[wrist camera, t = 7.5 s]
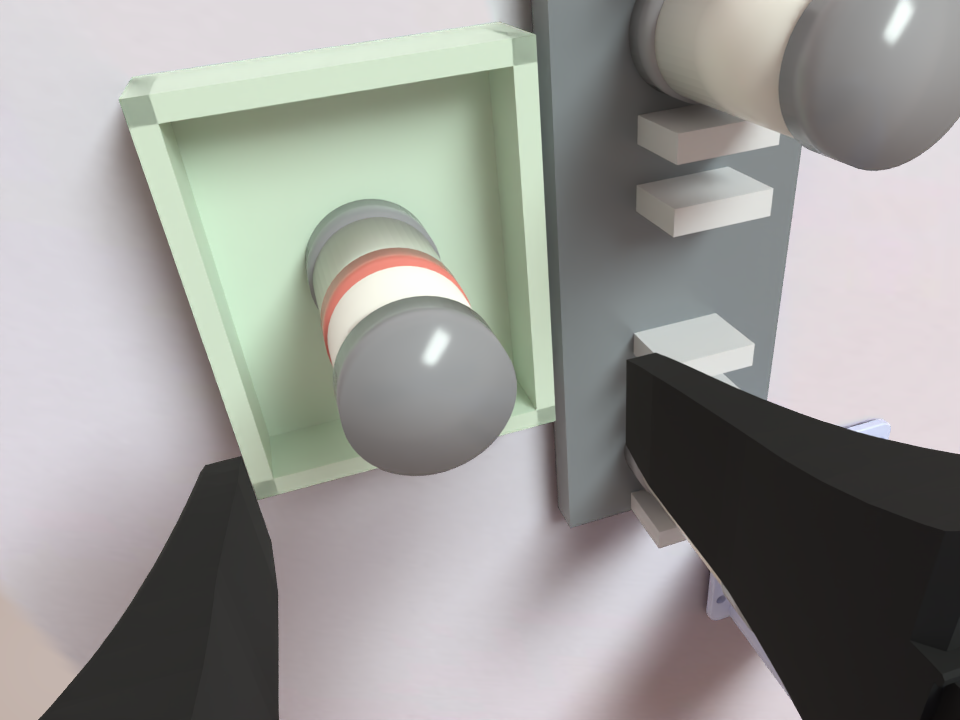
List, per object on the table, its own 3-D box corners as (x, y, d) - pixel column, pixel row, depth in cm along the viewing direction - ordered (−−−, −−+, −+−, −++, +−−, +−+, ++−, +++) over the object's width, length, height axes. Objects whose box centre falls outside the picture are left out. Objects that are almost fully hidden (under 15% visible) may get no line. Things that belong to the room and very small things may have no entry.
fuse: (744, 85, 21) (963, 153, 15) (627, 105, 20) (807, 186, 14) (757, -61, 19) (1017, -54, 13) (629, -44, 18) (837, -27, 12)
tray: (526, 376, 25) (555, 421, 23) (254, 445, 23) (257, 500, 21) (499, 22, 19) (535, 34, 17) (132, 76, 17) (118, 99, 15)
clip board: (739, 454, 30) (792, 509, 28) (558, 507, 29) (594, 570, 26) (807, -123, 20) (904, -131, 17) (526, -90, 18) (581, -92, 15)
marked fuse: (440, 301, 22) (524, 448, 16) (321, 331, 21) (361, 495, 15) (420, 186, 20) (507, 302, 14) (289, 214, 20) (320, 349, 13)
